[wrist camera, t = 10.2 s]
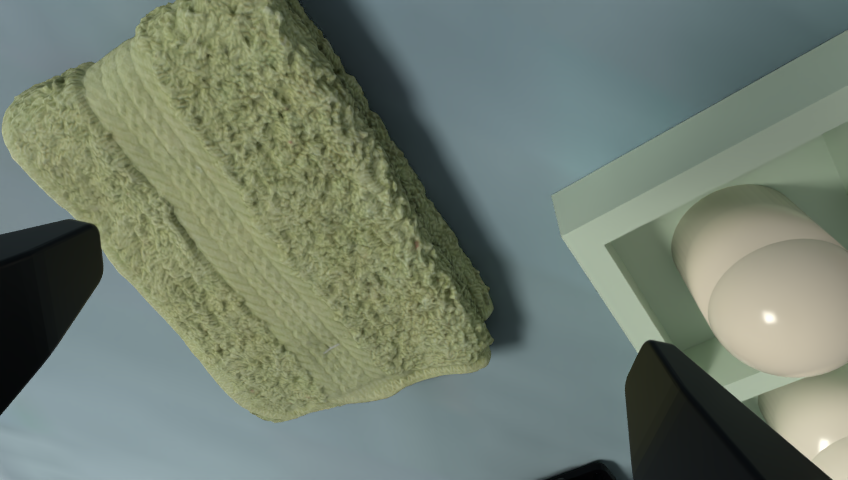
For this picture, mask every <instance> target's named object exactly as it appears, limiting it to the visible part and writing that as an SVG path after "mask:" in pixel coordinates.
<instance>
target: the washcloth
mask: <svg viewBox="0 0 848 480" xmlns="http://www.w3.org/2000/svg"><path fill="white" fill-rule="evenodd" d="M135 32H136V35H135V36H134V37H133V38H131V39H128V40H126V41H125V42H123V43H122V44H121V45H120V46H118V47H117V48H115V49H114V50H112V51H111V52H110V53H108V54H107V55H106V56H105V57H104V58H102V59H101V60H99V61H98V62H96V63H93V62H87V63H83V64H81V65H79V66H78V67H77V68H70V69H69V70H66V72H64V73H62V74H61V76H54V77H53V78H52V79H48V80H47V81H46V82H42V83H40V84H35V85H34V86H32V87H31V88H29V89H27V90H25V91H24V92H22V93H21V94H20V95H18V96H16V97H15V98H14V99H15V100H14V101H13V103H12V104H11V105H10V106H9V107H8V109H7V110H6V112H5V115H4V117H3V123H2V135H3V138H4V142H5V144H6V146H7V148H8V149H9V152H10V154H11V156H12V158H13V159H14V160H15V161H16V162H17V163H18V164H19V165H20V166H21V167H22V169H23V170H24V171H25V172H26V173H27V174H28V175H29V176H30V177H31V178H32V179H33V180H34V181H35V182H36V183H37V184H38V185H39V187H41V188H42V189H43V190H44V191H45V192H46V194H48V195H49V196H50V197H51V198H52V199H53V200H54V201H55V202H56V203H57V204H58V205H60V206H61V207H62V208H64V209H66V210H67V211H68V212H69V213H70V214H71V215H72V216H73V217H74V218H75V219H76V220H78V221H83V222H88V223H92V224H94V225H95V226H97V228H98V229H99V232H100V239H101V248H102V249H103V251H104V253H105V254H106V256H107V257H108V259H109V260H110V262H111V263H112V264H113V265H114V267H115V268H116V269H117V271H118V272H119V273H120V274H121V275H122V276H123V277H124V278H126V279H127V280H128V281H129V282H130V283H131V284H132V285H133V286H134V287H135V288H136V289H137V290H138V292H139V293H140V294H141V295H142V296H143V297H144V298H145V299H146V301H147V302H148V303H149V304H150V305H151V306H152V307H153V308H154V309H155V310H156V311H157V312H158V313H159V314H160V315H161V316H162V317H163V318H164V319H165V320H166V321H167V323H168V324H169V325H170V326H171V327H172V328H173V329H174V330H175V331H176V332H177V334H178V335H180V337H181V338H182V339H183V340H184V342H185V343H186V345H187V346H188V347H189V348H190V350H191V352H192V353H193V354H194V355H195V356H196V357H197V358H198V359H199V360H200V362H201V363H202V364H203V366H204V367H205V369H206V370H207V371H208V373H209V374H210V375H211V376H212V377H213V378H214V380H215V381H216V382H217V383H218V385H219V386H220V387H221V388H222V389H223V390H224V391H225V392H226V393H227V394H228V395H229V396H230V397H231V398H232V399H233V400H234V401H235V402H236V403H238V404H239V405H240V406H242V407H243V408H245V409H247V410H249V411H250V413H252V414H254V415H256V416H257V417H259V418H261V419H263V420H266V421H272V422H274V423H277V422H283V421H288V420H291V419H295V418H298V417H300V416H303V415H306V414H308V413H311V412H316V411H319V410H324V409H330V408H333V407H336V406H342V405H345V404H349V403H363V402H370V401H376V400H380V399H385V398H388V397H390V396H393V395H394V394H396V393H398V392H399V391H400V390H402V389H403V388H405V387H406V386H410V385H412V384H414V383H416V382H420V381H422V380H425V379H429V378H433V377H438V376H441V375H448V374H464V373H472V372H476V371H478V370H479V369H482V368H485V367H486V366H487V365H488V363H489V361H490V358H491V351H490V348H489V345H491V344H492V343H493V341H494V339H493V338H492V337H491V335H490V333H489V331H488V329H487V328H486V324H485V323H484V321H486V320H487V318H488V317H489V316H490V315H491V313H492V311H493V309H494V307H493V304H492V301H491V298H490V296H489V293H488V292H489V290H490V288H489V287H487V286H486V285H485V284H484V282H483V281H482V279H481V277H480V276H479V273H480V272H479V271H477V270H476V269H475V268H474V267H473V266H472V263H471V261H470V259H469V258H468V257H467V256H466V255H465V253H464V252H463V250H462V249H461V248H460V247H459V245H458V239H457V237H456V236H455V234H454V232H453V231H452V230H451V229H450V228H449V226H448V225H447V223H446V222H445V221H444V220H443V218H442V217H441V215H440V213H438V212H437V210H436V208H435V207H434V204H433V202H431V201H430V200H428V199H427V197H426V196H425V188H424V186H423V185H422V183H421V181H420V180H418V178H417V174H415V173H414V171H413V169H412V168H411V167H410V166H409V165H408V160H407V159H406V158H404V154H403V152H402V151H401V150H399V149H398V148H397V146H396V145H395V143H394V141H390V137H389V136H388V132H387V130H386V128H385V125H384V124H383V122H382V120H381V118H380V117H379V115H378V114H376V113H375V112H372V111H371V110H370V109H369V106H368V100H367V99H366V98H365V97H364V96H363V95H364V93H363V92H362V88H361V86H360V85H359V84H358V83H357V81H356V79H355V77H354V76H351V75H349V74H347V73H346V72H345V70H344V67H343V65H342V64H341V61H340V57H339V56H337V55H335V53H334V52H333V49H332V47H331V45H330V43H329V42H328V40H327V39H325V38H324V37H323V34H322V31H321V30H319V29H318V28H317V27H316V26H315V25H314V23H313V21H312V20H309V18H308V16H307V15H306V14H305V13H304V8H303V7H301V6H300V3H299V1H298V0H176V1H175V2H174V3H173V4H172V3H169V2H168V4H167V5H166V6H164V5H163V6H160V7H156V9H155V10H153V11H151V12H149V14H146V17H144V18H142V19H141V22H140V24H139V25H138V26H137V27H136V31H135Z"/></svg>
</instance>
